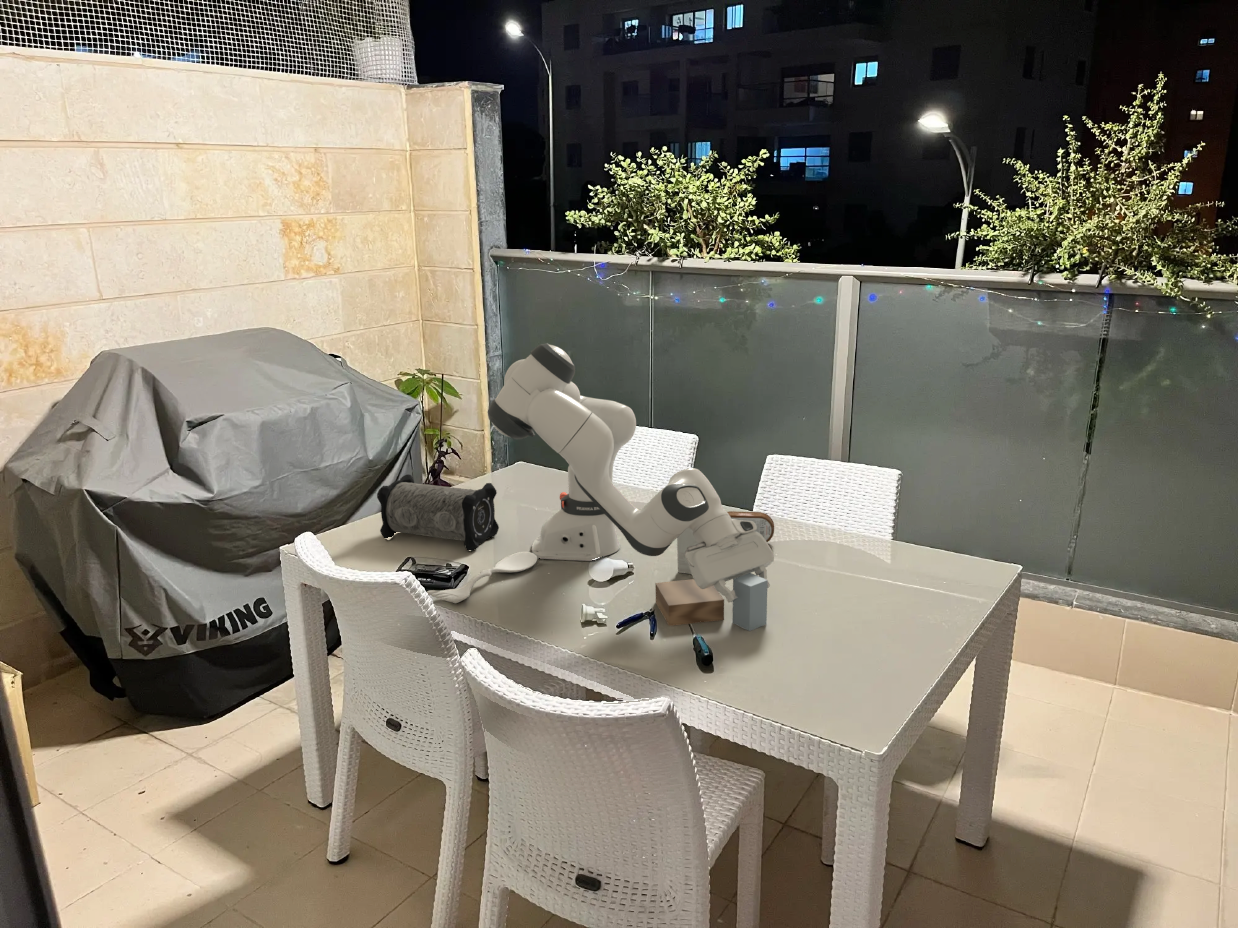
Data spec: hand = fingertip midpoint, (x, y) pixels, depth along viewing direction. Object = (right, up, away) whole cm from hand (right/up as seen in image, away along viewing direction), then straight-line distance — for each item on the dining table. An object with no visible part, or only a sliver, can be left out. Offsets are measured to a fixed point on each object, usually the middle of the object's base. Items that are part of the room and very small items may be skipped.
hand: (749, 594), depth 198 cm
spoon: (-58, -1, +26) cm, 63 cm away
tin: (+5, +6, +47) cm, 47 cm away
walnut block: (-12, -5, +9) cm, 16 cm away
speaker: (-74, +7, +55) cm, 93 cm away
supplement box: (-9, +2, +31) cm, 32 cm away
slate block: (0, -6, +2) cm, 7 cm away
